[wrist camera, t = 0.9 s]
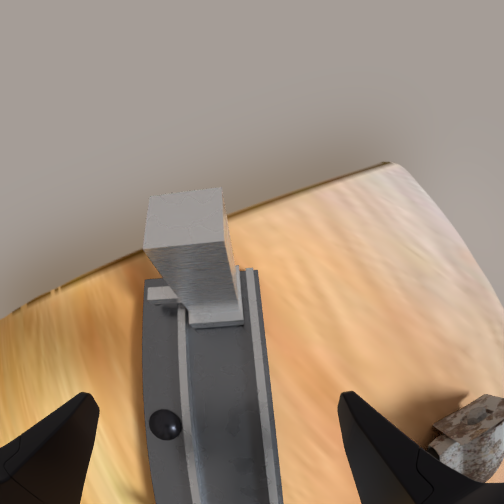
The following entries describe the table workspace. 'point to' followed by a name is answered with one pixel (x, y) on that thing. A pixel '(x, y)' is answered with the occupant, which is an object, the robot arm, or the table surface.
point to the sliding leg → (194, 256)
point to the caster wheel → (472, 438)
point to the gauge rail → (209, 405)
